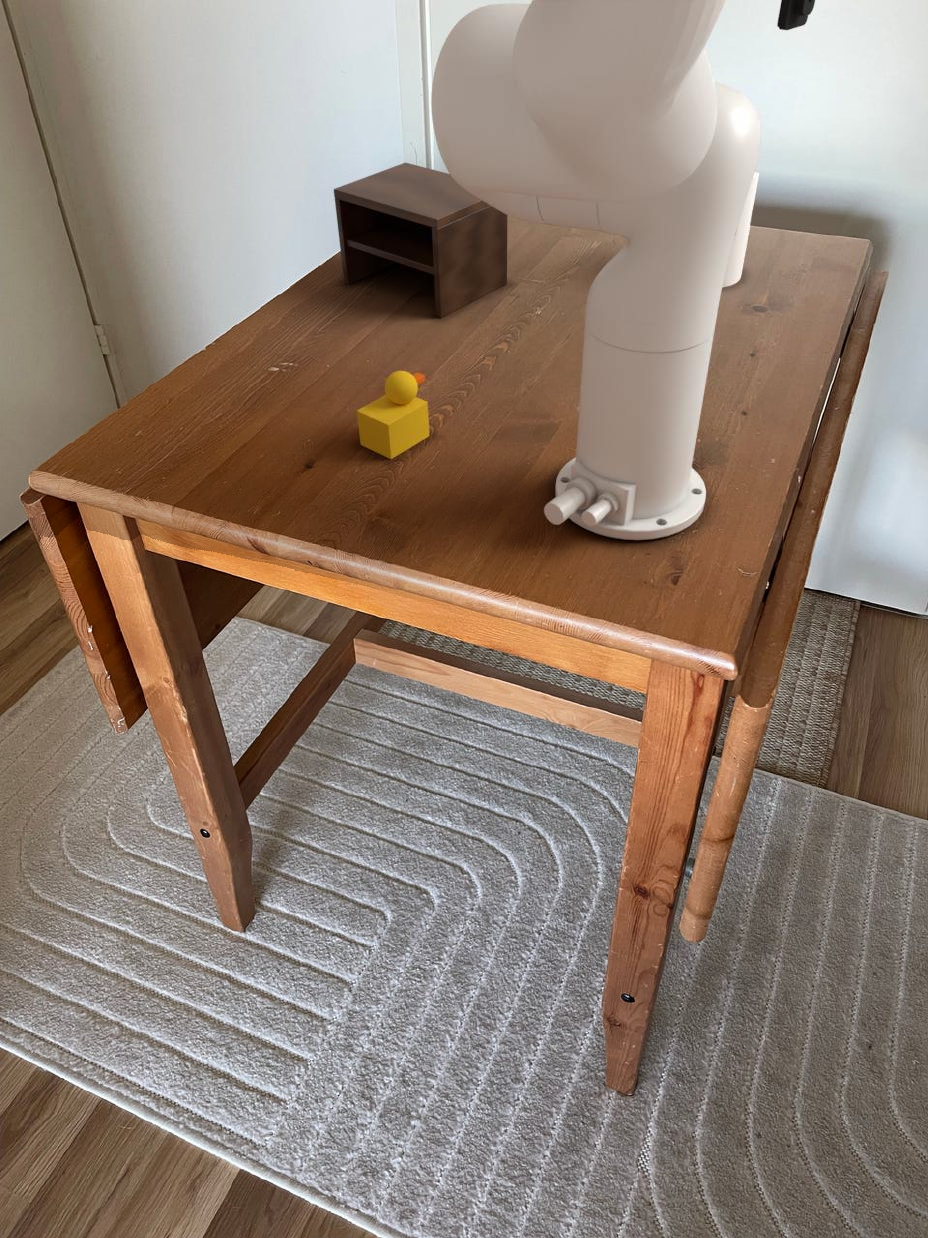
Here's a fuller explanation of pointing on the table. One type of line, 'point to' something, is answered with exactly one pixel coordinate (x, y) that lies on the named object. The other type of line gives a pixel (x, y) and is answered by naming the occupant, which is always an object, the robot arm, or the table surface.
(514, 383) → the table surface
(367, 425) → the duck
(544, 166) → the robot arm
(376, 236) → the shelf
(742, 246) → the cylinder with rectangular tab
